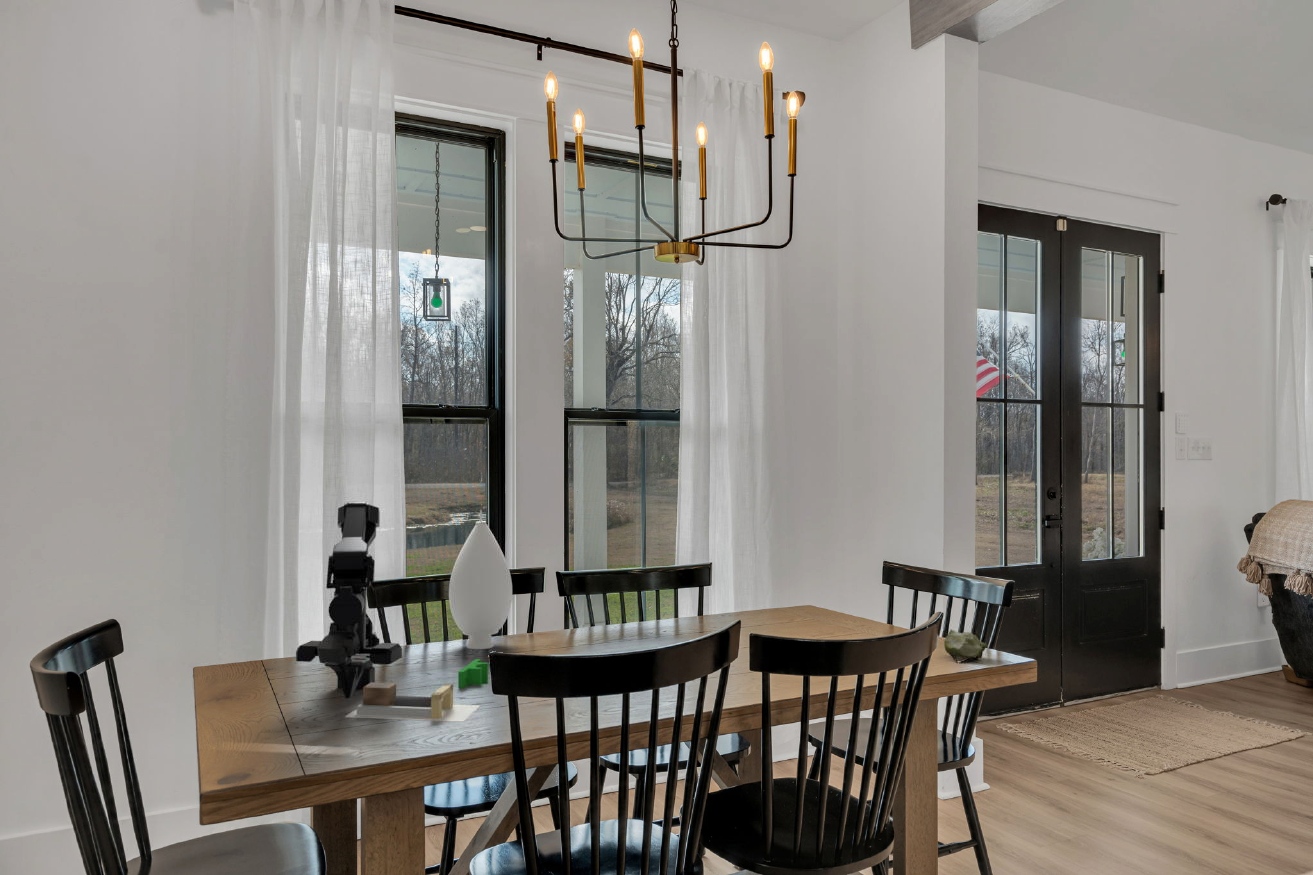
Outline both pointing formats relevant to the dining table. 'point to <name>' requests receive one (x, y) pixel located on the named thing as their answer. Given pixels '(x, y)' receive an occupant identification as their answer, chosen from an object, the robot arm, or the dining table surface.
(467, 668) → the pipe clamp
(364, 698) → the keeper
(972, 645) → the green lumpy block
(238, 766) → the dining table surface
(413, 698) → the rod
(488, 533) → the lamp
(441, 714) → the channel board
